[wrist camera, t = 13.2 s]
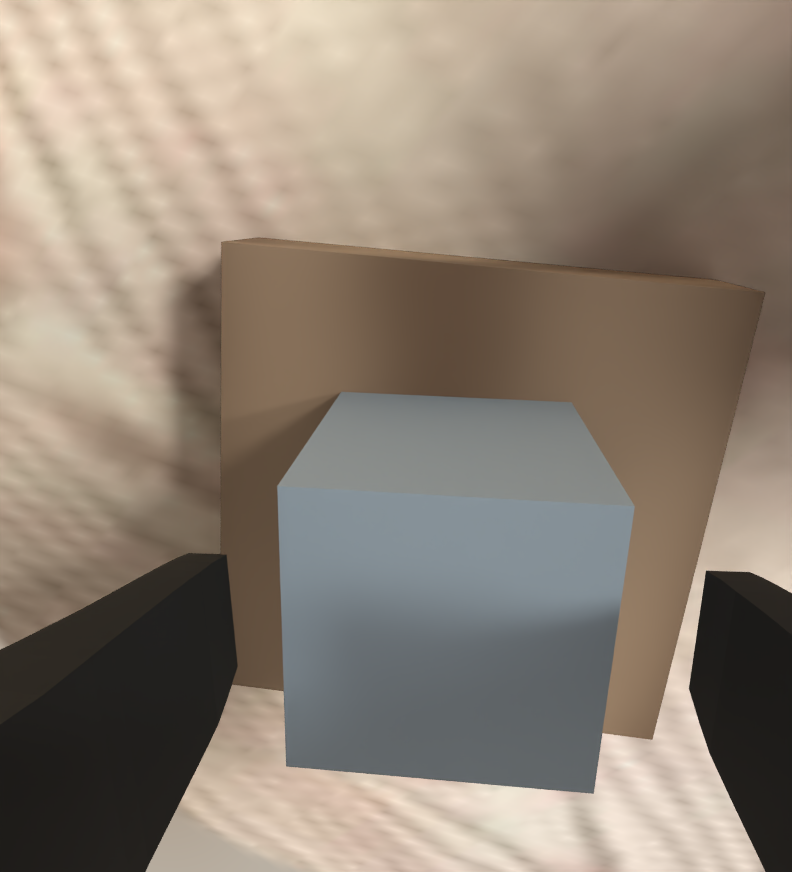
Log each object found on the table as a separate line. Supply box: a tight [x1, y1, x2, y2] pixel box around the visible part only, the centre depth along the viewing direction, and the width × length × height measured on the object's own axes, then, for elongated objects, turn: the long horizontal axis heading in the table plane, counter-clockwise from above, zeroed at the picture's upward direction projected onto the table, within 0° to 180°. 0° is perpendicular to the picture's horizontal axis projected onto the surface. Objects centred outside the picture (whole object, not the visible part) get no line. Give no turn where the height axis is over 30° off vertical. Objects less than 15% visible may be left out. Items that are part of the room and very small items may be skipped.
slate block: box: [277, 392, 635, 794], centre depth 12 cm, size 4×4×5 cm
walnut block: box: [221, 238, 765, 740], centre depth 15 cm, size 10×10×3 cm
